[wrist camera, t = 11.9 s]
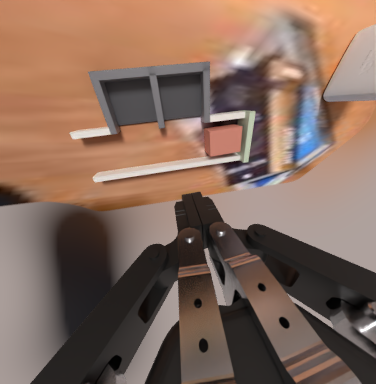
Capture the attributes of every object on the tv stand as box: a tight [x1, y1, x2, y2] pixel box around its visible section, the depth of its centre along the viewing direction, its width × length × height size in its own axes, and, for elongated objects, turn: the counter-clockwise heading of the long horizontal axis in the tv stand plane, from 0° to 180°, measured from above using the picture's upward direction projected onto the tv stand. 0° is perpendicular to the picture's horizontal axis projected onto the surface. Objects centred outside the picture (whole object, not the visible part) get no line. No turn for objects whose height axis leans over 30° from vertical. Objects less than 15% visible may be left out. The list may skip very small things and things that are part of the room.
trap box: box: [70, 62, 256, 182], centre depth 24 cm, size 30×16×4 cm, turn 95°
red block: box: [204, 124, 242, 157], centre depth 27 cm, size 6×4×4 cm
